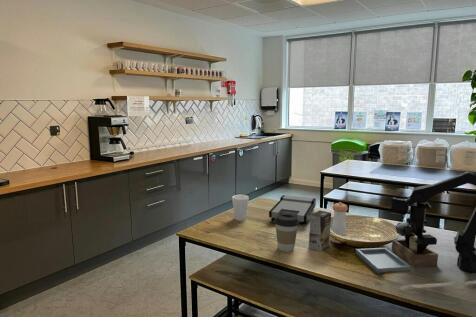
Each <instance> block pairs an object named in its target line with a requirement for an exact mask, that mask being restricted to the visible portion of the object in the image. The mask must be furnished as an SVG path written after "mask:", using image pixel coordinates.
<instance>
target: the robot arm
mask: <svg viewBox="0 0 476 317" xmlns="http://www.w3.org/2000/svg"><path fill="white" fill-rule="evenodd" d="M467 184H468V185H469V184H470V185H472V186H475V187H476V173H473V172H471V171H464V172H463V173H460V174H458V175H455V176H452V177H449V178H446V179H443V180H441V181H438V182H436V183H433V184H426V185H424V184H423V185H421V186H416V187H414V188H413V189H412V192H411V194H410V195H409V196H408V197H407V199H402V198H396V197H392V201H391V206H390V210H389V211H390V214H395V215H398V216H399V215H400V216H406V215H407V214H409V217H407V218H406V219H405V222H398V223H397V224H396V225H394V227H395V231H396V234H398V235H400V237H404V239H405V240H406V244H407V248H408V249H409V241H410V236H417V241H415V242H416V243H417V254H422V252H423V251H424V250H425V248H426V247H427V248H428V246H434V245H437V244H438V239H437V238H436V236H433V235H431V234H426V233H427V230H426V229H425V224H428V221H427V220H426V211H427V210H431V209H432V205H430V203H429V202H428V200H431V199H432V198H434V196H436V195H438V194H441V193H442V194H443V192H446V191H447V192H448V191H450V190H452V189H453V190H454V189H456V188H458V187H461V186H464V185H467ZM453 242H454V245H455V246H454V247H455V250H456V252H457V253H458V256H457V262H456V266H457V268H458V269H459V270H461V271H462V272H464V273H469V274H476V247H475V242H476V207H475V208H474V210H473V212H472V214H471V216H470V218H469V220H468V222H467V223H466V226H465V228H464V229H463V230H462V231H461V230H459V229H457V233H456V235H455V236H454V237H453Z"/></svg>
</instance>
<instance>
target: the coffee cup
mask: <svg viewBox="0 0 476 317" xmlns="http://www.w3.org/2000/svg"><path fill="white" fill-rule="evenodd" d="M273 222H274V224H275V233H276V242H277V248H278V250H279V251H281V252H285V253H287V252H292V251H294V248H295V246H296V239H297V234H298V226H299V225H300V224H299V220H298V219H297V217H296V216H295V215H292V214H280V215H278V216H277V218H275V221H273Z"/></svg>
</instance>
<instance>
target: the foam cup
mask: <svg viewBox="0 0 476 317" xmlns="http://www.w3.org/2000/svg"><path fill="white" fill-rule="evenodd" d="M249 200H250V199H249V196H248V195H245V194H236V195H235V194H234V195H232V198H231V201H232V209H233V216H234V220H235V221H239V222H243V221H246V218H247V212H248V207H249Z"/></svg>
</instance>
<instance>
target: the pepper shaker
mask: <svg viewBox="0 0 476 317" xmlns="http://www.w3.org/2000/svg"><path fill="white" fill-rule="evenodd" d="M332 210H333V220H332V222H331V224H332V225H331V232H332V231H333V232H334V233H336V234H338V235H341V236H346V237H347V223H346V216H347V211H348V210H349V208H348V205H347V204H344V203H343V202H341V201H339V202H338V203H337V202H335V203H334V204H333V205H332ZM330 241H331V242H333V243H336V244H341V243H340V242H339V241H337V240H335V239H333V238H332V237H331V236H330Z"/></svg>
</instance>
